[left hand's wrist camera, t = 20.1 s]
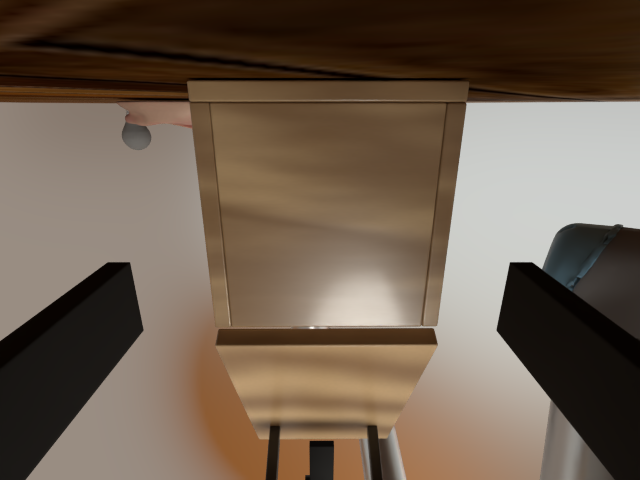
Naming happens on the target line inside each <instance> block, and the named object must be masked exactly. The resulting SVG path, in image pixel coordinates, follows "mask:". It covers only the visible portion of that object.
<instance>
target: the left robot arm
mask: <svg viewBox="0 0 640 480" xmlns="http://www.w3.org/2000/svg"><path fill="white" fill-rule="evenodd" d="M142 332H143V325H142V320H141V315H140V310H139V305H138V300H137V295H136V290H135V285H134V280H133V275H132V270H131V265H130V262H108V263H106V264H105V265H104V266H102V267H101V268H99V269H98V270H97V271H95V272H94V273H93V274H91V275H90V276H89V277H87V278H86V279H84V280H83V281H82V282H80V283H79V284H78V285H76V286H75V287H74V288H72V289H71V290H69V291H68V292H67V293H65V294H64V295H63V296H61V297H60V298H59V299H57V300H56V301H54V302H53V303H52V304H50V305H49V306H48V307H46V308H45V309H43V310H42V311H41V312H39V313H38V314H37V315H35V316H34V317H33V318H31V319H30V320H28V321H27V322H26V323H24V324H23V325H22V326H20V327H19V328H18V329H16V330H15V331H13V332H12V333H11V334H9V335H8V336H7V337H5V338H4V339H3V340H1V341H0V480H26V478H27V477H28V476H29V475H30V473H31V472H32V471H33V470H34V468H35V467H36V466H37V465H38V463H39V462H40V461H41V459H42V458H43V457H44V456H45V454H46V453H47V452H48V451H49V449H50V448H51V447H52V446H53V444H54V443H55V442H56V440H57V439H58V438H59V437H60V435H61V434H62V433H63V432H64V430H65V429H66V428H67V427H68V425H69V424H70V423H71V421H72V420H73V419H74V418H75V416H76V415H77V414H78V413H79V411H80V410H81V409H82V408H83V406H84V405H85V404H86V403H87V401H88V400H89V399H90V397H91V396H92V395H93V394H94V392H95V391H96V390H97V389H98V387H99V386H100V385H101V383H102V382H103V381H104V380H105V378H106V377H107V376H108V375H109V373H110V372H111V371H112V370H113V368H114V367H115V366H116V365H117V363H118V362H119V361H120V359H121V358H122V357H123V356H124V354H125V353H126V352H127V351H128V349H129V348H130V347H131V345H132V344H133V343H134V342H135V341H136V339H137V338H138V337H139V335H140V334H141V333H142ZM497 332H498V333H499V334H500V335H501V337H502V338H503V339H504V341H505V342H506V343H507V344H508V345H509V347H510V348H511V349H512V351H513V352H514V353H515V354H516V356H517V357H518V358H519V359H520V361H521V362H522V363H523V365H524V366H525V367H526V368H527V370H528V371H529V372H530V373H531V375H532V376H533V377H534V378H535V380H536V381H537V382H538V383H539V385H540V386H541V387H542V389H543V390H544V391H545V392H546V394H547V395H548V396H549V397H550V399H551V403H550V410H549V417H548V424H547V432H546V439H545V446H544V453H543V460H542V468H541V475H540V480H640V229H634V228H626V227H623V225H619V224H617V225H614V226H605V225H594V224H583V223H575V224H570V225H567V226H565V227H563V228H562V229H560V230H559V231H558V232H557V234H556V235H555V237H554V240H553V242H552V244H551V247H550V249H549V252H548V255H547V258H546V260H545V263H544V266H543V268H542V269H541V268H539V267H538V266H536V265H535V264H534V263H532V262H510V265H509V270H508V275H507V280H506V285H505V290H504V295H503V300H502V305H501V310H500V315H499V320H498V325H497Z"/></svg>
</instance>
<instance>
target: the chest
mask: <svg viewBox="0 0 640 480" xmlns="http://www.w3.org/2000/svg"><path fill="white" fill-rule="evenodd" d="M187 86H188V94H189V100H190V101H191V102H190V113H191V121H192V130H193V139H194V147H195V155H196V164H197V173H198V181H199V190H200V198H201V207H202V215H203V224H204V232H205V241H206V249H207V258H208V266H209V275H210V284H211V292H212V301H213V309H214V318H215V326H216V327H231V326H232V327H353V326H354V327H355V326H356V327H357V326H358V327H360V326H421V325H422V326H437V323H438V315H439V308H440V300H441V293H442V285H443V278H444V270H445V263H446V255H447V248H448V240H449V232H450V225H451V217H452V210H453V202H454V194H455V187H456V179H457V172H458V164H459V157H460V149H461V142H462V134H463V127H464V119H465V112H466V103H465V102H466V101H467V97H468V89H469V81H468V80H188V81H187Z"/></svg>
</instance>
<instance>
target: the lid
mask: <svg viewBox="0 0 640 480" xmlns="http://www.w3.org/2000/svg"><path fill="white" fill-rule="evenodd" d="M215 346H216V349H217V351H218V353H219V355H220V357H221V359H222V361H223V363H224V366H225V368H226V370H227V372H228V374H229V376H230V378H231V380H232V383H233V385H234V387H235V389H236V391H237V393H238V395H239V397H240V399H241V402H242V404H243V406H244V408H245V410H246V412H247V414H248V416H249V419H250V421H251V423H252V425H253V427H254V429H255V431H256V433H257V436H258V438H259V439H269V444H268V456H267V469H266V480H277V479H278V463H279V446H280V439H368V451H369V463H370V475H371V480H383V476H382V467H381V457H380V447H379V438H387V437H388V436H389V434H390V432H391V430H392V428H393V426H394V425H395V423H396V421H397V419H398V417H399V415H400V414H401V412H402V410H403V408H404V406H405V404H406V403H407V401H408V399H409V397H410V395H411V393H412V392H413V390H414V388H415V386H416V384H417V382H418V381H419V379H420V377H421V375H422V373H423V371H424V370H425V368H426V366H427V364H428V362H429V361H430V359H431V357H432V355H433V353H434V351H435V350H436V348H437V346H438V344H437V339H436V335H435V331H434V329H433V328H384V329H383V328H381V329H379V328H377V329H376V328H375V329H219V330H218V334H217V339H216V345H215Z"/></svg>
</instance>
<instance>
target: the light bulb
mask: <svg viewBox="0 0 640 480" xmlns="http://www.w3.org/2000/svg"><path fill="white" fill-rule="evenodd" d="M126 111H127V112H126V114H129V111H128V110H126ZM122 139H123V141H124V142H125V144H126V145H127V146H129V147H130V148H132V149H135V150H142V149H145V148H146V147H147V146H148V145H149V144H150V142H151V134H150V132H149V130H148V129H147V127H146V126H141V125H137V124H131V123H127V122H126V123H125V126H124V128H123V131H122Z"/></svg>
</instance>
